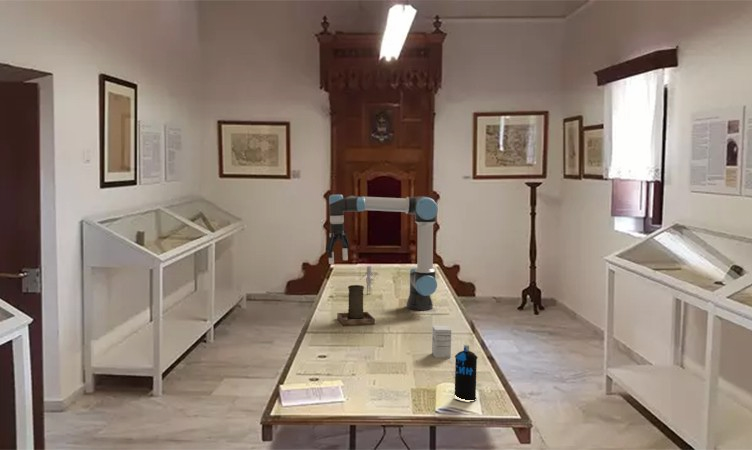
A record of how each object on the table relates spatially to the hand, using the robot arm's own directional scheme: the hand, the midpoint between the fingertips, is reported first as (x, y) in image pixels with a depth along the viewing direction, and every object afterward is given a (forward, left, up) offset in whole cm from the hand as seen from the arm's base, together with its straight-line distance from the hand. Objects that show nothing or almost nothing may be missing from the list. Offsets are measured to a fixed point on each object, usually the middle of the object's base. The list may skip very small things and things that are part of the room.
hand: (338, 262), depth 394 cm
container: (-6, +17, -29) cm, 34 cm away
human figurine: (-30, -50, -29) cm, 65 cm away
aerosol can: (-20, +142, -29) cm, 146 cm away
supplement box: (-30, +87, -29) cm, 96 cm away
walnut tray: (-6, +18, -29) cm, 35 cm away
